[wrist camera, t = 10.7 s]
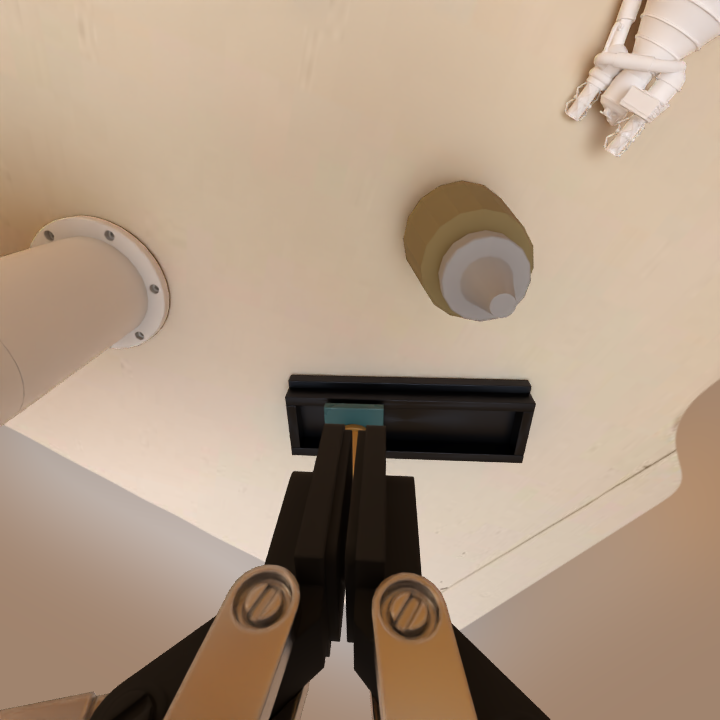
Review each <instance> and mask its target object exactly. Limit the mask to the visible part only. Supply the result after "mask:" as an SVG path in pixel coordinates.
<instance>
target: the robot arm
mask: <svg viewBox="0 0 720 720" xmlns="http://www.w3.org/2000/svg"><path fill="white" fill-rule="evenodd" d="M168 310H169V292H168V287H167V283H166V280H165V278H164V275H163V272H162V270H161V268H160V267H159V265H158V263H157V262H156V260H155V258H154V257H153V256H152V254H151V253H150V252H149V251H148V250H147V248H146V247H145V246H144V245H143V244H142V243H141V242H140V241H139V240H137V239H136V238H135V237H134V236H133V235H131V234H130V233H129V232H127V231H126V230H124V229H123V228H121V227H119V226H117V225H115V224H113V223H111V222H109V221H106V220H103V219H99V218H96V217H90V216H71V217H65V218H62V219H58V220H54V221H53V222H51V223H49V224H47V225H45V226H44V227H43V228H42V229H41V230H40V231H39V232H38V233H37V234H36V235H35V237H34V239H33V241H32V242H31V245H30V249H26V250H23V251H20V252H16V253H13V254H9V255H6V256H2V257H0V427H1V426H2V425H4V424H5V423H6V422H8V421H9V420H10V419H12V418H13V417H15V416H16V415H17V414H19V413H20V412H22V411H23V410H25V409H26V408H27V407H29V406H30V405H32V404H33V403H34V402H36V401H37V400H38V399H40V398H41V397H42V396H44V395H45V394H47V393H48V392H49V391H51V390H52V389H53V388H55V387H56V386H57V385H59V384H60V383H62V382H63V381H64V380H66V379H67V378H68V377H70V376H71V375H72V374H74V373H75V372H77V371H78V370H79V369H81V368H82V367H83V366H85V365H86V364H88V363H89V362H90V361H92V360H93V359H94V358H96V357H97V356H98V355H100V354H101V353H103V352H104V351H105V350H107V349H108V348H113V349H124V348H131V347H135V346H139V345H141V344H143V343H144V342H146V341H148V340H149V339H151V338H152V337H153V336H154V335H155V334H157V332H158V331H159V330H160V329H161V328H162V326H163V324H164V322H165V320H166V318H167V315H168ZM345 588H346V621H347V642H352V643H354V670H355V671H356V673H357V674H358V675H359V677H360V678H361V679H362V680H363V682H364V683H365V685H366V686H367V687H368V689H369V690H370V700H371V712H372V720H550V719H549V717H547V716H546V715H545V714H544V713H543V712H542V711H541V710H540V709H539V708H538V707H537V706H536V705H535V704H534V703H533V702H532V701H531V700H530V699H529V698H528V697H527V696H526V695H525V694H524V693H523V692H522V691H521V690H520V689H519V688H518V687H517V686H515V684H514V683H513V682H511V681H510V680H509V679H508V678H507V677H506V676H505V675H504V674H503V673H502V672H501V671H500V670H499V669H498V668H497V667H496V666H495V665H494V664H493V663H492V662H491V661H490V660H489V659H488V658H487V657H486V656H485V655H484V654H483V653H482V652H481V651H479V650H478V649H477V647H475V646H474V645H473V644H472V643H471V642H470V641H469V640H468V639H467V638H466V637H465V636H464V635H463V634H462V633H461V632H460V631H459V630H458V629H457V628H456V627H455V626H454V625H453V624H452V623H451V620H450V616H449V613H448V609H447V605H446V603H445V600H444V598H443V596H442V594H441V592H440V591H439V590H438V588H437V587H436V586H435V585H434V584H433V583H432V582H430V581H429V580H428V579H426V578H425V577H423V576H422V575H421V562H420V548H419V535H418V522H417V509H416V496H415V483H414V477H409V476H387V475H386V426H379V425H366V430H358V437H357V446H356V455H355V465H354V474H353V438H352V430H345V424H327V423H325V424H324V427H323V431H322V436H321V440H320V445H319V449H318V453H317V458H316V462H315V466H314V471H313V472H299V471H293V473H292V474H291V477H290V480H289V484H288V487H287V490H286V494H285V497H284V500H283V504H282V507H281V511H280V514H279V517H278V521H277V524H276V528H275V531H274V534H273V538H272V541H271V545H270V548H269V551H268V555H267V558H266V562H265V565H263V566H258V567H255V568H253V569H251V570H249V571H247V572H245V573H244V574H243V575H242V576H241V577H240V578H238V579H237V580H236V581H235V583H234V584H233V586H232V587H231V589H230V590H229V592H228V594H227V596H226V598H225V600H224V602H223V604H222V606H221V608H220V609H219V611H218V613H217V615H216V616H215V617H214V618H212V619H211V620H209V621H208V622H207V623H205V624H204V625H203V626H201V627H200V628H198V629H197V630H195V631H194V632H193V633H191V634H190V635H188V636H187V637H186V638H184V639H183V640H181V641H180V642H179V643H177V644H176V645H175V646H173V647H172V648H170V649H169V650H167V651H166V652H165V653H163V654H162V655H160V656H159V657H158V658H156V659H155V660H153V661H152V662H151V663H149V664H148V665H146V666H145V667H144V668H142V669H141V670H139V671H138V672H137V673H135V674H134V675H132V676H131V677H130V678H128V679H127V680H125V681H124V682H123V683H121V684H120V685H119V686H117V687H116V688H115V689H114V690H113V691H112V692H111V693H109V694H104V695H99V696H96V695H95V693H94V692H89V693H84V694H79V695H74V696H68V697H63V698H59V699H53V700H48V701H43V702H38V703H33V704H28V705H23V706H18V707H13V708H8V709H3V710H0V720H300V718H301V714H302V711H303V707H304V703H305V700H306V696H307V692H308V688H309V682H310V680H311V679H312V678H313V677H314V676H315V675H316V674H318V672H320V671H321V670H322V669H323V668H324V664H325V657H329V656H330V648H331V641H338V642H339V641H340V637H341V627H342V616H343V606H344V596H345Z"/></svg>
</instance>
